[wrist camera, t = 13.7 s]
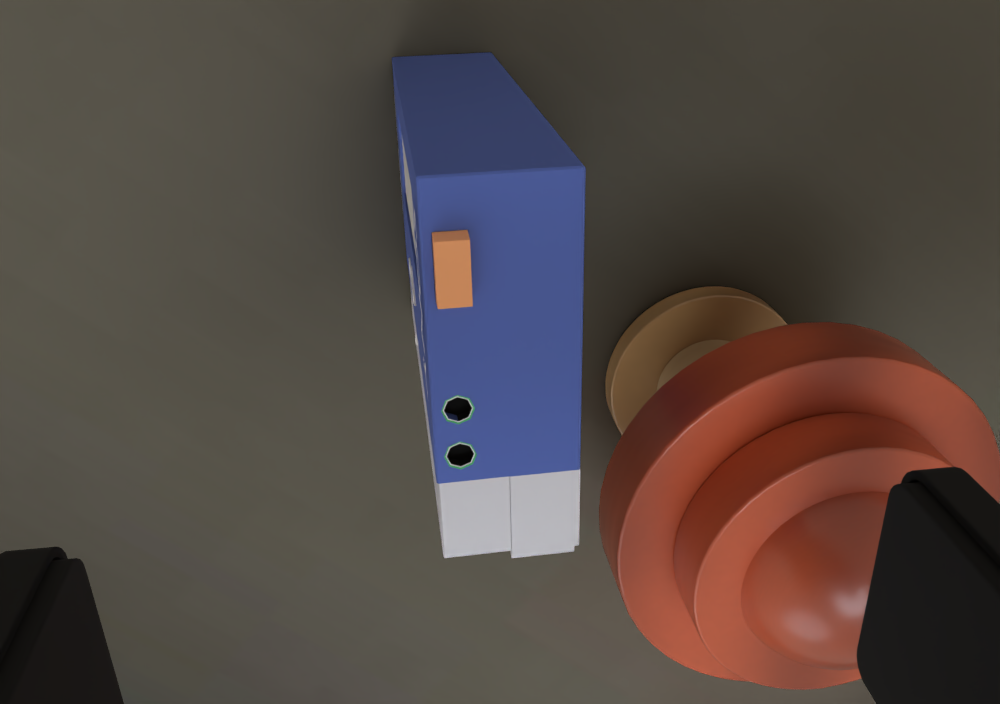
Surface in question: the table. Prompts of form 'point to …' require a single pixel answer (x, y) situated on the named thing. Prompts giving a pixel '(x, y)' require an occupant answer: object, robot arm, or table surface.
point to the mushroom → (766, 479)
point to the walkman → (494, 302)
